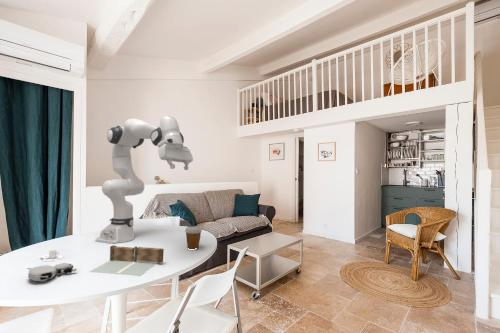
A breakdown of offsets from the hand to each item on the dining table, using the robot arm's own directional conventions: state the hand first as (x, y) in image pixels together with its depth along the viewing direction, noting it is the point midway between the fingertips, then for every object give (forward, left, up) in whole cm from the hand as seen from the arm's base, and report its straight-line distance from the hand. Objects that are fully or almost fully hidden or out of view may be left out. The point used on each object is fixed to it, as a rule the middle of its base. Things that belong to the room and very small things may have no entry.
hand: (180, 169), depth 124 cm
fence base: (-25, -6, -46) cm, 53 cm away
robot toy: (-44, -26, -47) cm, 69 cm away
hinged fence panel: (-11, -6, -45) cm, 47 cm away
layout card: (-20, -10, -47) cm, 52 cm away
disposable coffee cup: (+1, +20, -47) cm, 51 cm away
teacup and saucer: (-64, -6, -47) cm, 80 cm away
